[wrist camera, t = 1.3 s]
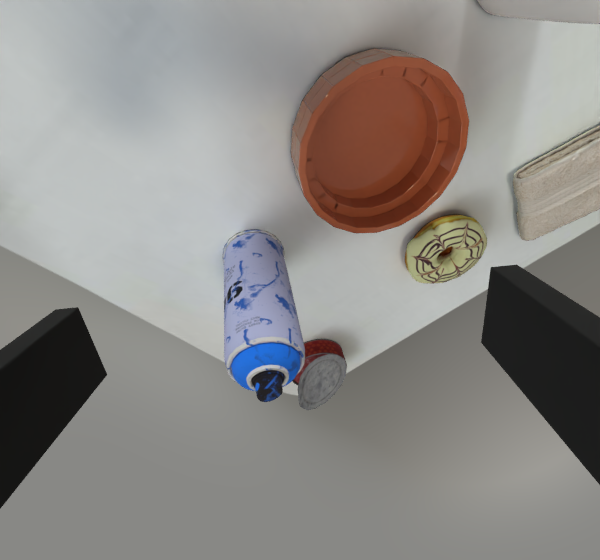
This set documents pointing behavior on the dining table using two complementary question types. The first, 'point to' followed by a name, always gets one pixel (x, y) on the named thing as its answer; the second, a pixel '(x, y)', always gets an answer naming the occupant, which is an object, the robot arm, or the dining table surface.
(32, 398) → the robot arm
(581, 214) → the washcloth
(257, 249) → the aerosol can
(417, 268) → the decorated donut
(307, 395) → the canned food
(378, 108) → the bowl
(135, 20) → the dining table surface
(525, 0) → the milk bottle
